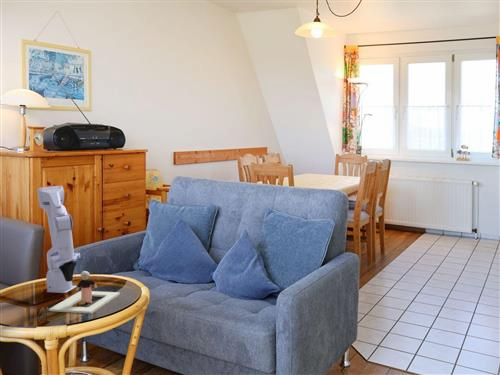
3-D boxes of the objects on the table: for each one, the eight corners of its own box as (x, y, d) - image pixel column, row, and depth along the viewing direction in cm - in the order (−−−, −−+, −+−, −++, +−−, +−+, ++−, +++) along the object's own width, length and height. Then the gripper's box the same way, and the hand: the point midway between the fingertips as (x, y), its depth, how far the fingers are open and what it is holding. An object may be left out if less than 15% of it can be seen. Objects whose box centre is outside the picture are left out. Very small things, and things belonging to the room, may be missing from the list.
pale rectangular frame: (49, 311, 184) (48, 308, 183) (81, 292, 203) (81, 290, 202) (91, 313, 179) (91, 311, 178) (119, 294, 198) (119, 292, 198)
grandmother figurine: (78, 306, 187) (75, 274, 185) (77, 303, 190) (73, 271, 189) (99, 301, 190) (96, 270, 189) (97, 299, 194) (94, 267, 192)
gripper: (62, 252, 181) (66, 287, 183) (85, 242, 195) (88, 275, 197) (46, 251, 183) (50, 286, 185) (70, 242, 197) (73, 274, 199)
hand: (69, 280), depth 191 cm, fingers closed
